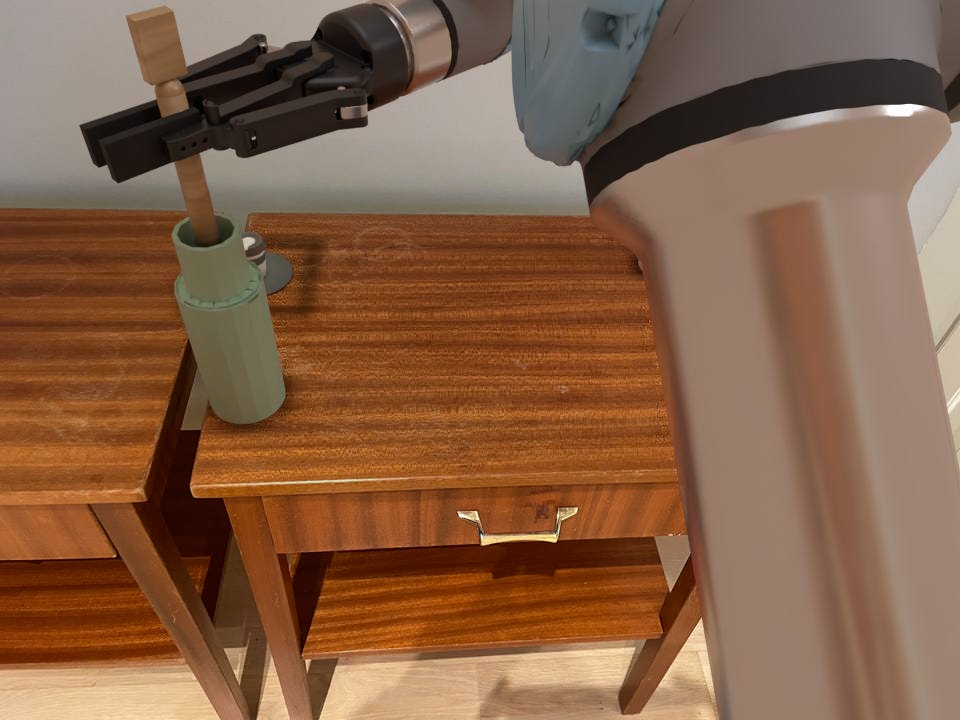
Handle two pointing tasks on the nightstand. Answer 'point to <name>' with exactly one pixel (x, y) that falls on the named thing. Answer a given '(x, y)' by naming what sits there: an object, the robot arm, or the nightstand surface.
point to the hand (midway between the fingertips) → (99, 154)
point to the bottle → (228, 324)
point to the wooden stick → (173, 107)
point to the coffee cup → (267, 262)
